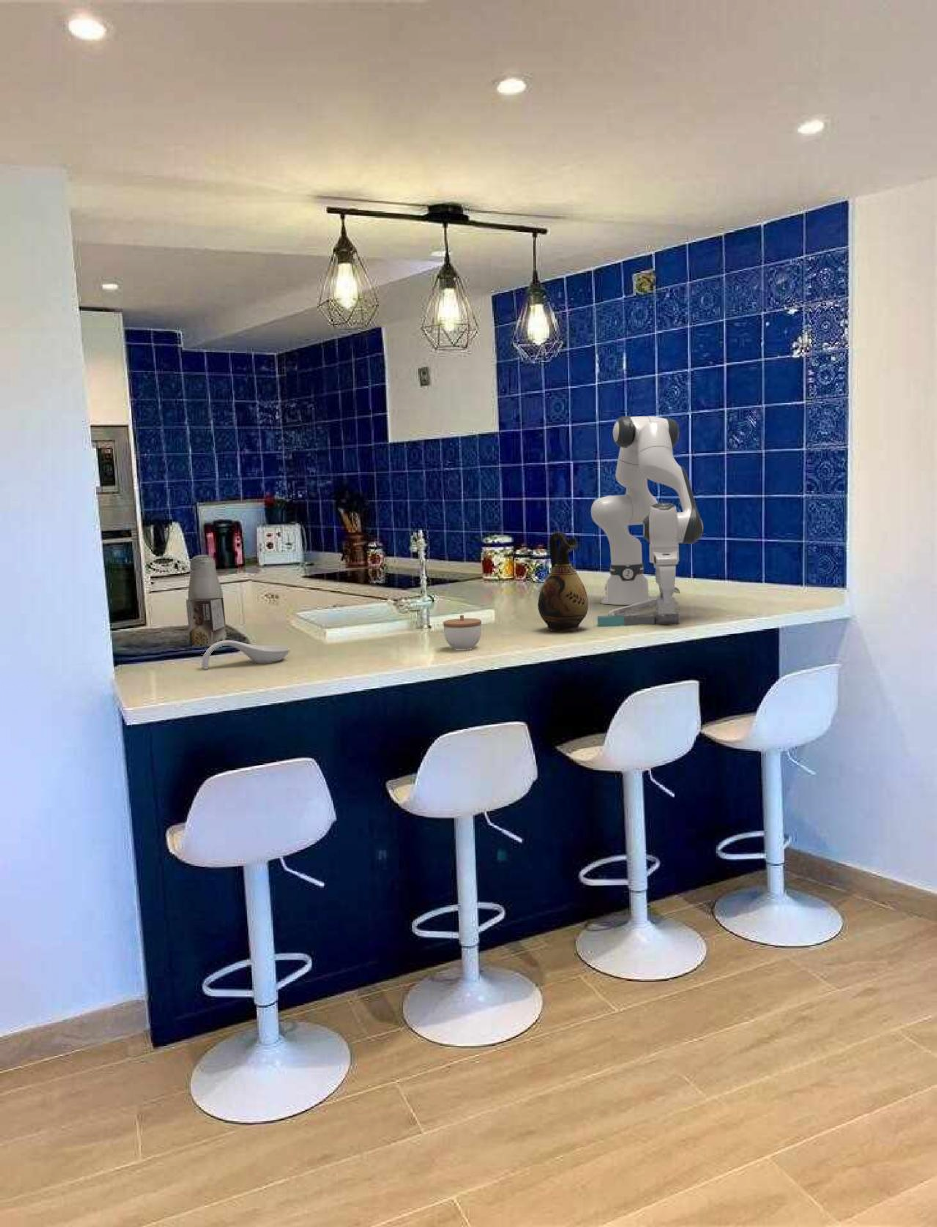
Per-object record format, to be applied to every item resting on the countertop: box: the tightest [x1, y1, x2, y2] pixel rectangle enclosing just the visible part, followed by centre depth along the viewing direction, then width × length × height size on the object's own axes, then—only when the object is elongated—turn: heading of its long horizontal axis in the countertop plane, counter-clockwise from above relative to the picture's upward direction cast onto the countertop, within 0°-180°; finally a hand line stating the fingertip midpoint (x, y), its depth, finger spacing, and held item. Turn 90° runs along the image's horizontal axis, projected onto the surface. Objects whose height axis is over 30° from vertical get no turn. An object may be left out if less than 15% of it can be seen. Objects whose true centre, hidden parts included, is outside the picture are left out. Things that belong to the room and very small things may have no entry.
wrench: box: [607, 586, 681, 616], centre depth 318 cm, size 8×2×30 cm
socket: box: [655, 595, 676, 615], centre depth 296 cm, size 5×5×5 cm
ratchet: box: [596, 611, 680, 627], centre depth 297 cm, size 8×25×6 cm, turn 85°
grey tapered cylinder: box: [187, 554, 224, 601], centre depth 300 cm, size 10×10×28 cm
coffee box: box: [185, 597, 228, 646], centre depth 283 cm, size 9×6×16 cm
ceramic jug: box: [537, 530, 589, 633], centre depth 293 cm, size 17×15×30 cm
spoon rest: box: [201, 639, 291, 670], centre depth 262 cm, size 24×12×7 cm, turn 115°
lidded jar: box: [442, 614, 482, 650], centre depth 270 cm, size 11×11×9 cm
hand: (664, 601), depth 296 cm, fingers open, 8 cm apart
